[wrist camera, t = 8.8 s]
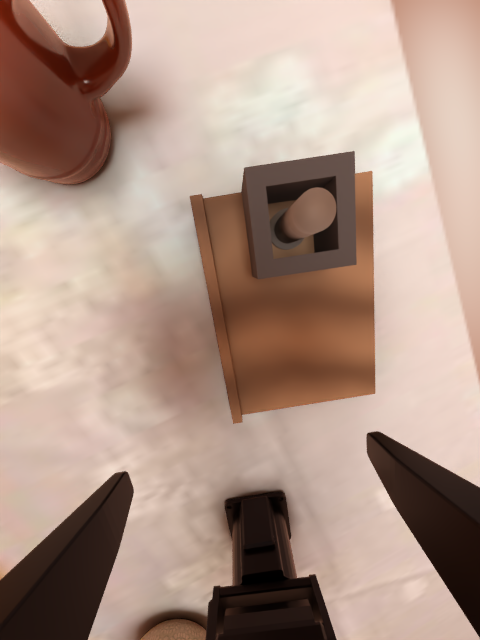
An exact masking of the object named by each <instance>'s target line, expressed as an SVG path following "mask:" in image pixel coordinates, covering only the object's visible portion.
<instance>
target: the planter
mask: <svg viewBox="0 0 480 640" xmlns="http://www.w3.org/2000/svg"><path fill="white" fill-rule="evenodd" d="M205 637H206V630H205V629H204V628H203V627H202V626H200V625H199V624H197V623H195V622H193V621H190V620H185V619H172V620H167V621H164V622H161V623H159V624H158V625H156V626H154V627H153V628H152V629H151V630H149V631H148V632H147V633H146V634H145V635H144V636H143V637H142V638H141V639H140V640H205Z"/></svg>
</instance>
